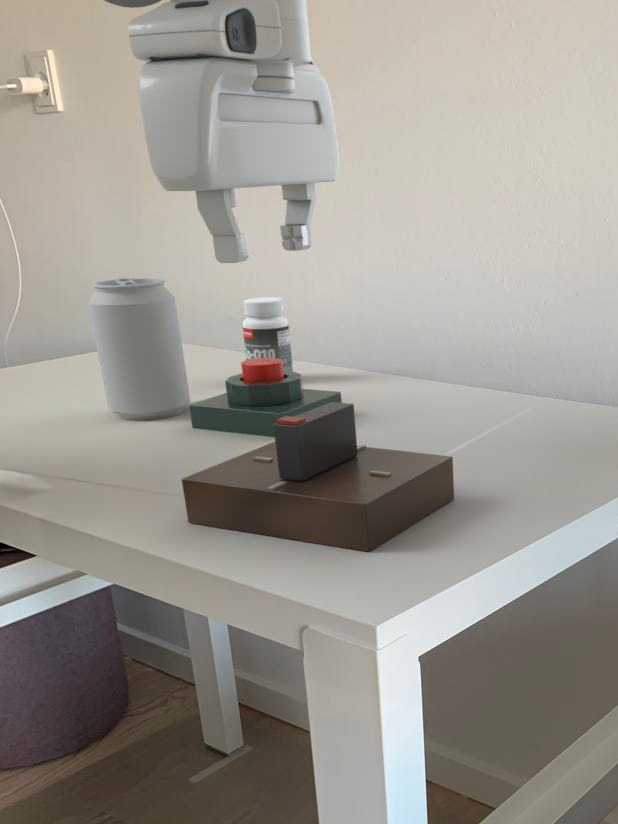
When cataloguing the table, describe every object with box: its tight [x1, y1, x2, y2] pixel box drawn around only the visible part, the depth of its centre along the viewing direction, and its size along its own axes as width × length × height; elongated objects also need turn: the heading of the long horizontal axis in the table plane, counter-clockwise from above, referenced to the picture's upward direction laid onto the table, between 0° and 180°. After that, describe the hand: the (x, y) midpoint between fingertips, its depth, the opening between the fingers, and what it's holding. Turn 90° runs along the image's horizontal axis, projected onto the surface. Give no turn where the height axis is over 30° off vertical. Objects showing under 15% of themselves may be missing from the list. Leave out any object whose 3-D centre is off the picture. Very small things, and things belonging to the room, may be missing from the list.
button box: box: [188, 370, 343, 438], centre depth 89 cm, size 10×9×4 cm
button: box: [240, 358, 285, 383], centre depth 88 cm, size 4×4×2 cm
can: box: [87, 277, 191, 421], centre depth 92 cm, size 8×8×12 cm
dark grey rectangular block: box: [273, 402, 358, 481], centre depth 65 cm, size 6×2×4 cm, turn 154°
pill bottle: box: [242, 296, 294, 372], centre depth 105 cm, size 5×5×8 cm
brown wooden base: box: [181, 441, 455, 553], centre depth 67 cm, size 14×11×3 cm
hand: (266, 255), depth 73 cm, fingers open, 8 cm apart
